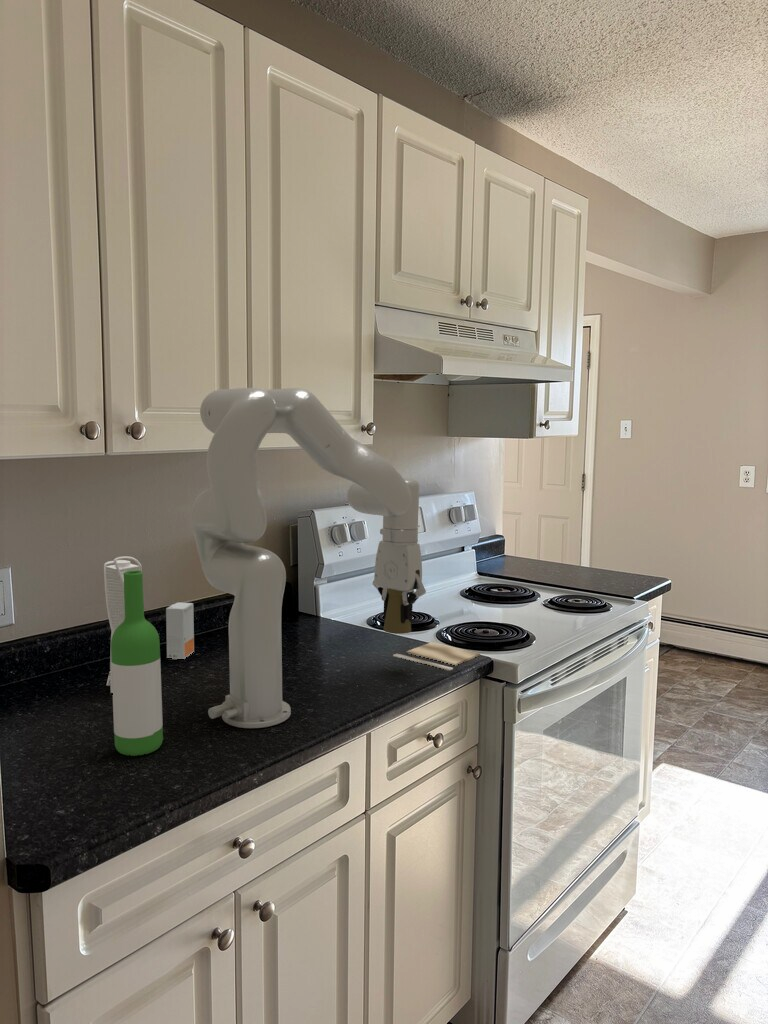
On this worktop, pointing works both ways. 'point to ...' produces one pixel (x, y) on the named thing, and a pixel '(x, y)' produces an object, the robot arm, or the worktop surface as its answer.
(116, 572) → the skyscraper
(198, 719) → the worktop surface
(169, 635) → the skincare box
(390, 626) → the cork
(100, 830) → the worktop surface
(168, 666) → the worktop surface
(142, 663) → the wine bottle
